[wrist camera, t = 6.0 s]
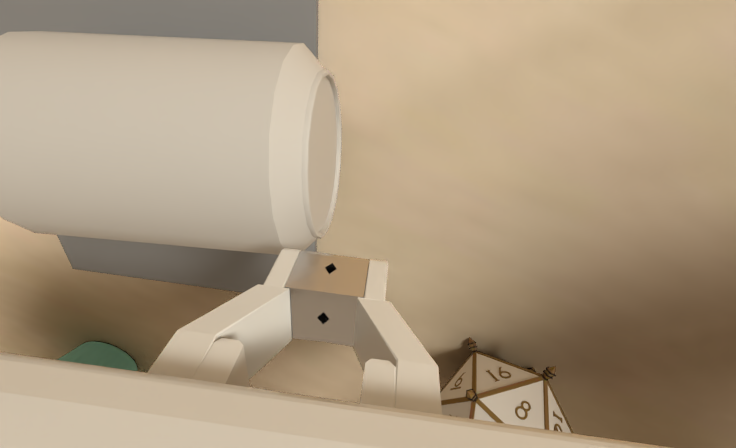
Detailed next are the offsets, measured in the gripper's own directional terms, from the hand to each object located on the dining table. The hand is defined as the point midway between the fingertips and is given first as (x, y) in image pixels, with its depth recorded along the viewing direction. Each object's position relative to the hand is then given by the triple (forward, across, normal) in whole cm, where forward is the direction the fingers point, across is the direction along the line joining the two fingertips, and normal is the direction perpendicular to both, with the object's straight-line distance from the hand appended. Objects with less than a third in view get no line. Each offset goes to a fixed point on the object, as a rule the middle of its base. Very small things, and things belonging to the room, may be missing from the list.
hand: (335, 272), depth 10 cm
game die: (+9, -10, +14) cm, 19 cm away
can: (+4, +1, -2) cm, 5 cm away
